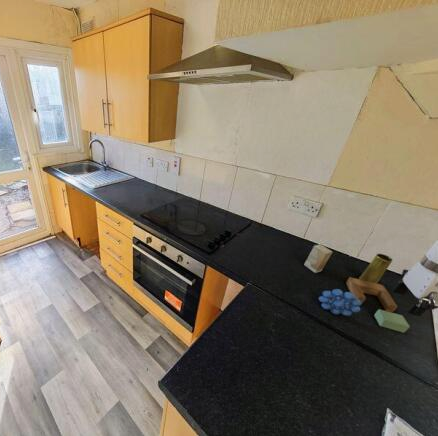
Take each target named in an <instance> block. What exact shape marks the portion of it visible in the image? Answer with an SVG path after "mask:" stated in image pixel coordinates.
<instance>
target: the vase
mask: <svg viewBox="0 0 438 436" xmlns="http://www.w3.org/2000/svg"><path fill="white" fill-rule="evenodd" d="M392 263H393V258H392V257H391V256H390V255H387V254H384V253H376V254H375V256H374V257H373V259H372V261H370V263H369V264H368V265H367V267H366V268H365V270H364V271H363V272H362V274H361V275H360V276H359V277H358V279H360V280H364V281H368V282H372V283H376V284H379V282H380V280H381V279H382V277H383V276H384V274H385V272H386V271H387V269H388V268H389V267H390V265H391V264H392Z"/></svg>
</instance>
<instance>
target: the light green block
mask: <svg viewBox="0 0 438 436" xmlns="http://www.w3.org/2000/svg"><path fill="white" fill-rule="evenodd" d="M374 318H375V320H376V322H377V323H378V325H379V326H380V327H383V328H387V329H390V330H393V331H397V332H400V333H403V334H405V332H407V330H408V329H410V328H411V326H410V324H409V323H408V322H407V320H406V319H405V317H404V316H403V315H402V314H399V313H395V312H389V311H386V310H385V309H383V310H382V309H381V308H380V309H379V308H378V310H376V312H375V314H374Z"/></svg>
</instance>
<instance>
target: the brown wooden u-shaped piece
mask: <svg viewBox="0 0 438 436" xmlns="http://www.w3.org/2000/svg"><path fill="white" fill-rule="evenodd" d="M345 284H346V286H347V289H348V290H349V292H351V293H353V294H354V296H355V297H354V298H356V299H359V300H360V301H361V303H362V304H364V302H365V301H366V299H367V297H366V296H365V294H367V295H371V296H374V297H377V299H378V300H379V302H380V304H381V305H382V307H383V309H384V311H387V312H391V313H394V312H395V310H397V308H398V305H397V304H396V302H395V301H394V299H393V297H392V296H391V295H390V293H389V292H388V290H387V289H386V287H385V285H384V284H380V283H377V284H376V283H372V282H368V281H364V280H360V279H359V278H355V277H351V276H349V277H348V278H347V280H346V282H345Z"/></svg>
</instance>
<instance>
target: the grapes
mask: <svg viewBox="0 0 438 436" xmlns="http://www.w3.org/2000/svg"><path fill="white" fill-rule="evenodd" d="M354 297H355V296H354V294H353V293H351V292H350V291H346V292H344V291H343V290H342V289H339V288H335V289H333V290H332V291H331V290H323V292H322V295H321V296H319V297H318V301H319V302H320V303H321V307H322V309H324V310H329V311H330V313H331V314H332V315H340V314H342V315H343V316H345V317H349V316H351V315H353V313H355V314H356V313H360V312H361V307H360V306H361V305H363V303H361V301H360V300H359V299H356V298H354Z"/></svg>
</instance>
